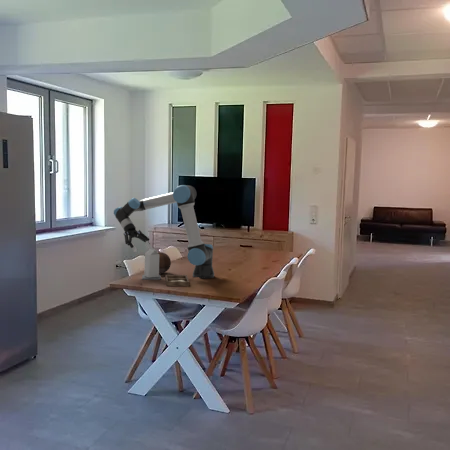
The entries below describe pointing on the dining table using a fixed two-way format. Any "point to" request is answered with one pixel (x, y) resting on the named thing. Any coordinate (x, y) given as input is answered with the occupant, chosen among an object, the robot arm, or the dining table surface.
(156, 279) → the slate tile
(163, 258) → the wooden sphere
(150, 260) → the milk carton
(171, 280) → the walnut rack
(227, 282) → the dining table surface
